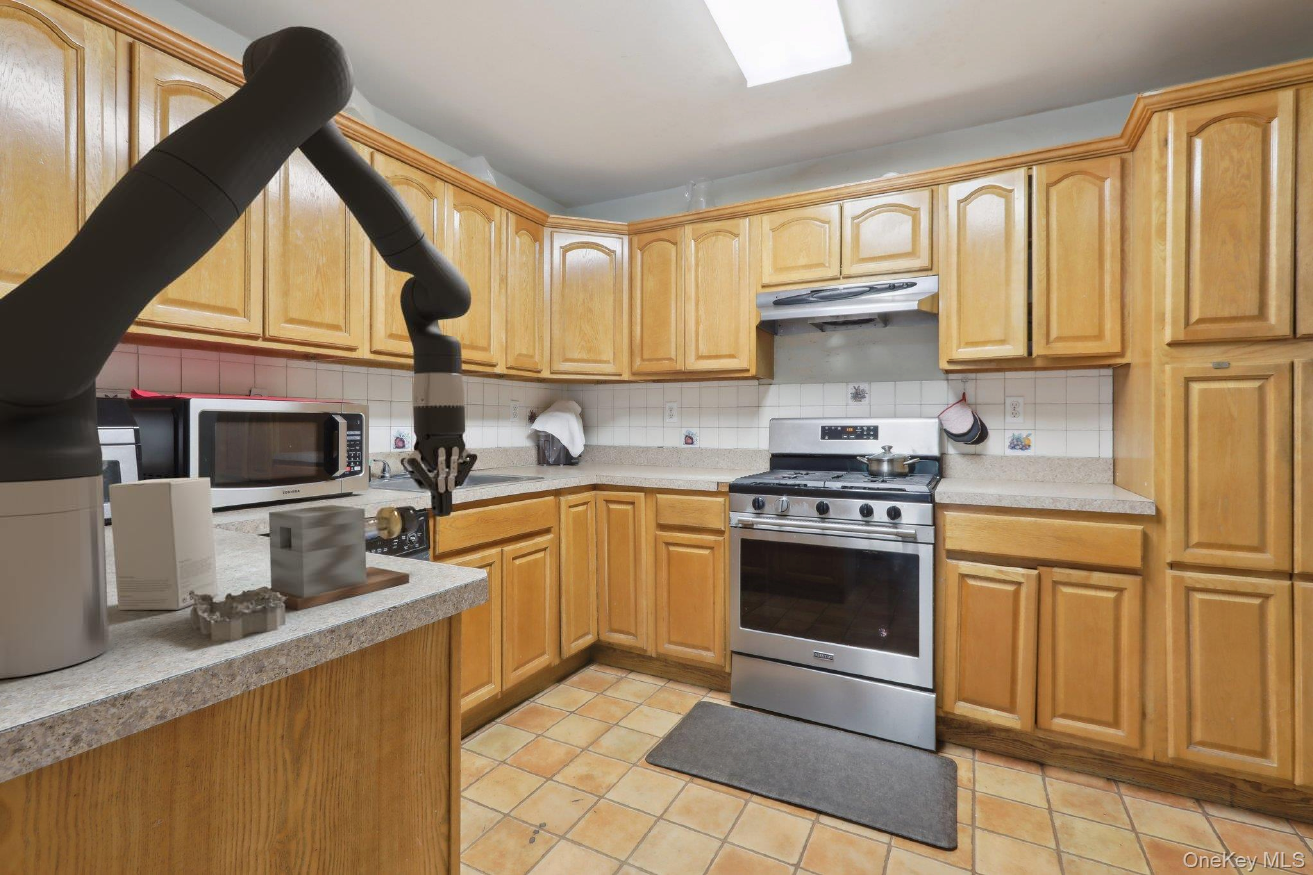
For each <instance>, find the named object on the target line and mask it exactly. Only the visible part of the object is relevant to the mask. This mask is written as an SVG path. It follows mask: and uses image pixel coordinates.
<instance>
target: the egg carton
mask: <svg viewBox="0 0 1313 875" xmlns="http://www.w3.org/2000/svg"><path fill="white" fill-rule="evenodd" d="M189 595H192V596H193V599H194V605H193V607H192V608H191V609H190V613H189V616H190V622H191V623H190V624H191V628H193V629H194V630H195V629H199V630H200V634H202V635H211V637H210V639H211V641H212V642H219V641H231V642H232V641H236V640H240V639H243V637H244V636H245V635H248V634H252V633H256V632H265V633H266V632H273V631H277V630H278V629H279V627H282V626H284V625H286V621H287V620H286V607H285V605H284V604H283V602H284V600H285V599H286V598H287V597H288V596H287V597H286V598H285V597H283V596H282V595H281V596H280V594H279V593H278V592H276V593H275V592H272V591H271V590H270V589H269V587H268V586H261V587H258V588H256V589H250V590H242V591H241V593H240V594H237V595H236V594H235V595H233V594H232V593H231V592H230V593H227V594H226V595H225V596H224V597H225V598H224V600H221V601H218V602H217V601H214V599H213V598H212V597H211V595H209V594H202V595H198V594H195V592H194V591H193V590H192V591H190V592H189Z"/></svg>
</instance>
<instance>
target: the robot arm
mask: <svg viewBox="0 0 1313 875" xmlns="http://www.w3.org/2000/svg"><path fill="white" fill-rule="evenodd" d="M241 67H242V74H243V76H244V79H245V83H244V84H243V85H242V86H240V88H239V89H237V90H236V91H235V92H234V93H233V94H232V95H230V96H229V97H228V98H226V99H225V100H223V101H222V102H220V103H218V104H217V105H214V106H213V107H211V108H209V109H208V110H206V111H205V112H202V113H201V114H199V115H197V116H196V117H194V118H192V119H190V120H189V121H187V123H185V124H183V125H182V126H180V127H178V128H177V129H176V130H174V131H172V132H171V133H170V134H169V135H167V136H166V137H164V138H163V139H161V141H159V142H158V143H156V144H155V145H154V146H153V147H151V149H149V150H148V152H147V153H146V154H145V155H143V156H142V157H141V158H140V159H139V160H138V161H137V162H136V163H135V164H134V165H133V166H132V167H131V168H130V169H129V170H128V171H127V172H126V173H124V174H123V176H122V177H121V178H120V179H119V180H118V181H117V183H116V184H114V186H113V187H112V188H111V189H110V190H109V191H108V193H106V195H105V196H104V197H103V198H102V200H101V201H100V202H98V205H96V207H95V209H94V210H93V211H92V212H91V214H90V215H89V217H88V218H87V219H86V221H85V222H84V223H83V225H82V226H81V227H80V229H79V230H78V232H77V233H76V235H74V237H73V238H72V239H71V240H70V242H69V243H68V244H67V245H66V246H65V247H64V248H63V249H61V251H60V252H58V254H56V255H55V256H54V257H53V258H52V259H51V260H50V261H48V262H47V263H46V264H45V265H43V266H42V267H41V268H39V269H38V270H37V271H36V272H34V273H33V274H32V275H30V276H29V277H28V278H26V280H24V281H23V282H21V283H20V284H19V285H18V286H16V287H15V288H13V289H12V290H10V291H9V292H8V293H7V294H5V295H4V296H3V297H1V298H0V680H1V679H8V678H16V677H24V676H28V675H29V676H30V675H36V674H40V673H46V672H50V671H54V670H55V671H56V670H59V669H63V668H66V667H69V666H73V665H77V664H80V663H83V662H86V661H88V660H91V659H93V658H96V657H98V656H100V655H101V654H103V653H105V652H106V651H107V650H108V649H109V647H110V645H109V643H110V642H109V632H110V627H109V626H110V624H109V619H108V618H109V616H108V615H109V614H108V613H109V612H108V592H107V591H108V589H107V588H108V586H107V584H108V583H107V560H106V529H105V527H106V526H105V506H104V505H105V502H104V501H105V497H104V475H103V474H104V472H103V466H104V465H103V451H102V446H101V440H100V434H99V428H98V409H97V382H96V379H97V377H98V376H99V375H100V373H101V371H102V370H103V368H104V366H105V364H106V363H107V361H108V359H109V358H110V356H111V355H112V353H113V352H114V350H115V349H116V348H117V347H118V345H119V343H120V342H121V340H122V339H123V337H124V336H125V335H126V333H127V332H128V331H129V329H130V328H131V326H132V325H133V324H134V322H135V321H136V319H137V318H138V317H139V316H140V314H141V313H142V311H144V309H145V308H146V307H147V306H148V305H149V303H151V301H152V300H154V298H155V297H156V296H158V294H160V293H161V292H162V291H163V290H164V289H166V288H167V287H169V285H171V284H172V283H174V282H175V281H176V280H177V279H178V278H180V277H181V276H182V275H183V274H185V273H187V271H189V270H190V269H191V268H192V267H193V266H194V265H195V264H196V263H198V262H199V261H200V260H201V259H203V257H204V256H205V255H206V254H207V253H208V252H209V251H211V250H212V248H214V247H215V246H216V245H217V244H218V243H219V241H221V239H223V237H224V236H225V235H226V234H227V233H228V231H230V229H231V228H232V227H233V226H234V225H235V223H236V222H237V221H238V220H239V219H240V218H241V216H242V215H243V214H244V213H245V211H246V210H247V209H248V208H249V207H250V205H251V204H252V203H253V202H254V201H255V199H256V198H257V197H258V196H259V195H260V194H261V193H262V192H263V190H264V189H265V188H266V187H267V185H269V183H270V182H271V180H272V179H273V178H274V177H275V176H276V175H277V173H278V172H279V170H280V169H281V168H282V167H283V165H284V164H285V162H286V161H287V160H288V159H289V158H290V156H291V155H292V154H293V153H294V152H295V151H296V150H297V149H298V150H299V151H300V152H301V153H302V154H303V156H305V157H306V159H307V160H308V161H309V162H310V164H312V165H313V167H314V168H315V170H316V171H318V173H319V174H320V175H321V176H322V177H323V178H324V180H325V181H326V183H328V185H329V186H330V187H331V188H332V190H334V192H335V193H336V195H337V196H338V197H339V198H340V200H341V201H342V202H343V203H344V205H345V206H346V208H348V210H349V211H350V213H351V214H352V216H353V217H354V218H355V220H356V221H357V223H358V224H359V226H360V227H361V228H362V230H363V232H364V233H365V235H366V236H367V238H368V239H369V240H370V242H371V244H372V245H373V247H374V248H375V250H376V251H377V252H378V254H379V256H380V257H381V259H382V260H383V262H384V263H385V264H386V265H387V267H389V268H390V269H391V270H393V271H396V272H401V273H402V272H403V273H407V274H410V275H412V276H411V277H409V278H408V279H406V280H405V282H404V283H403V285H402V287H401V290H400V296H399V302H400V303H399V304H400V309H401V314H402V316H403V319H404V323H405V326H406V330H407V333H408V336H409V339H410V343H411V346H412V350H413V354H412V355H413V356H412V357H413V384H412V413H413V415H412V416H413V433H414V435H415V437H416V438H415V443H414V445H413V451H412V453H410V454H409V455H408V456H407V457H402V458H400V464H401V466H402V467H403V468H404V470H405V471H406V472H407V474H408V475H409V476H410V477H411V479H412V480H413V482H414V483H415V484H416V486H417V487H418V488H419V489H420V490H426V491H429V493H430V502H431V504H430V505H431V508H430V509H431V512H432V514H433V516H434V517H437V518H443V517H449V516H451V512H453V492H454V490H455V489H456V488H457V487H462V486H463V485H464V484H465V482H466V480H467V479H468V477H469V475H470V473H471V471H472V469H473V467H474V466H475V464H476V462H477V460H478V455H477V454H476V453H471V452H470V451H469V450H468V449H467V448H466V442H465V441H464V436H463V435H464V434H465V432H466V412H465V411H466V410H465V409H466V407H465V406H466V405H465V402H466V401H465V386H464V381H463V364H462V363H463V362H462V360H463V358H462V355H463V354H462V346H461V342H460V341H459V340H458V338H457V337H455V336H451V335H446V334H443V332H442V330H441V326H440V323H439V321H442V320H452V319H454V320H455V319H457V318H458V319H459V318H461V317H463V316H465V315H466V314H467V313H468V312H469V310H470V307H471V305H472V304H471V303H472V293H471V289H470V286H469V284H468V282H467V280H466V278H465V277H464V276H463V274H462V273H461V272H460V270H459V269H458V268H457V267H456V266H455V265H454V263H452V262H451V261H450V260H449V259H448V257H446V256H445V255H444V254H443V252H442V251H441V250H440V249H438V247H437V246H436V245H435V244H433V242H431V241H430V240H429V238H428V236H427V235H426V232H424V229H423V228H422V226H421V225H420V223H419V221H418V219H417V218H416V216H415V214H414V213H413V210H412V209H411V208H410V206H409V205H408V203H407V201H406V200H405V199H404V198H403V197H402V195H401V194H400V193H399V191H397V189H396V188H395V187H394V186H393V185H391V183H390V182H389V181H388V180H387V179H386V178H385V177H383V176H382V175H381V174H380V173H379V172H378V171H377V170H376V169H375V168H374V167H372V165H371V164H369V162H367V161H366V160H365V158H363V156H361V154H359V152H358V151H357V150H356V149H355V148H354V147H353V145H351V143H350V142H349V141H348V139H347V138H346V137H345V135H344V134H343V133H342V131H341V129H340V128H339V126H338V125H337V123H336V121H335V119H334V117H335V116H337V115H338V114H339V113H341V112H342V111H343V110H344V108H345V107H346V106H347V105H348V103H349V102H350V99H351V97H352V95H353V90H354V85H355V84H354V83H355V82H354V81H355V79H354V78H355V77H354V70H353V66H352V61H351V60H350V58H349V55H348V53H347V52H346V50H345V48H344V47H343V46H342V45H341V44H340V42H338V40H337V39H335V38H334V36H332V35H330V34H329V33H327V32H325V31H323V30H320V29H318V28H315V27H309V26H303V25H302V26H301V25H300V26H299V25H298V26H289V27H285V28H283V29H282V28H281V29H280V30H277V31H275V32H273V33H270V34H266V35H265V36H262V37H259V38H257V39H255V40H253V41H252V42H251V43H249V45H247V47H246V49H245V51H244V52H243V55H242V64H241Z"/></svg>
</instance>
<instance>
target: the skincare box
mask: <svg viewBox="0 0 1313 875" xmlns="http://www.w3.org/2000/svg"><path fill="white" fill-rule="evenodd" d="M211 489H212V488H211V477H179V478H157V479H156V478H153V479H145V480H137V481H130V482H122V483H120V482H119V483H114V484H109V485H108V491H109V492H108V493H109V494H108V495H109V505H110V507H109V508H110V515H111V516H110V517H111V529H112V530H111V531H112V542H113V543H112V545H113V555H114V569H115V582H116V584H115V585H116V592H117V593H116V596H117V609H118V611H149V610H151V611H153V610H156V611H158V610H161V611H162V610H165V611H166V610H168V611H169V610H174V611H176V610H181V609H185V608H188V607H190V606H194V599H193V596H192V595H189V592H190V591H192V590H193V591H194V592H195V594H198V595H202V594H209V595H211V597H212V599H213V598H214V597H217V596H218V594H219V588H218V577H217V575H218V574H217V573H218V572H217V560H216V547H215V544H216V543H215V532H214V519H213V518H214V517H213V504H212V492H211Z"/></svg>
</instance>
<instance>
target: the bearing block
mask: <svg viewBox="0 0 1313 875" xmlns="http://www.w3.org/2000/svg"><path fill="white" fill-rule="evenodd" d="M365 511H366V510H365V508H363V507H353V506H343V505H335V504H329V505H328V504H327V505H320V506H312V507H304V508H303V507H301V508H296V509H295V508H294V509H293V508H292V509H285V510H277V511H269V512H268V524H269V528H268V529H269V531H268V532H269V560H270V561H269V562H270V588H269V587H268V588H269V589H270V590H271V591H272V592H275V593H276V592H278V593H279V594H280V596H281V595H282V596H283V597H285V598H286V597H287V596H288V597H287V598H286V599H285V600H284V602H283V604H284V605H285V608H288V609H291V610H292V609H293V610H296V611H301V610H306V609H309V608H312V607H317V606H320V605H321V606H322V605H326V604H329V603H334V602H338V601H342V600H345V599H349V598H352V597H356V596H360V595H365V594H369V593H373V592H377V591H380V590H385V589H389V588H393V587H397V586H400V585H405V584H408V583H410V574H409V573H406V572H402V571H397V570H390V569H387V568H381V567H375V566H368V567H367V556H366V553H367V552H366V548H367V547H366V534H365V519H366V517H365V513H366V512H365Z"/></svg>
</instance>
